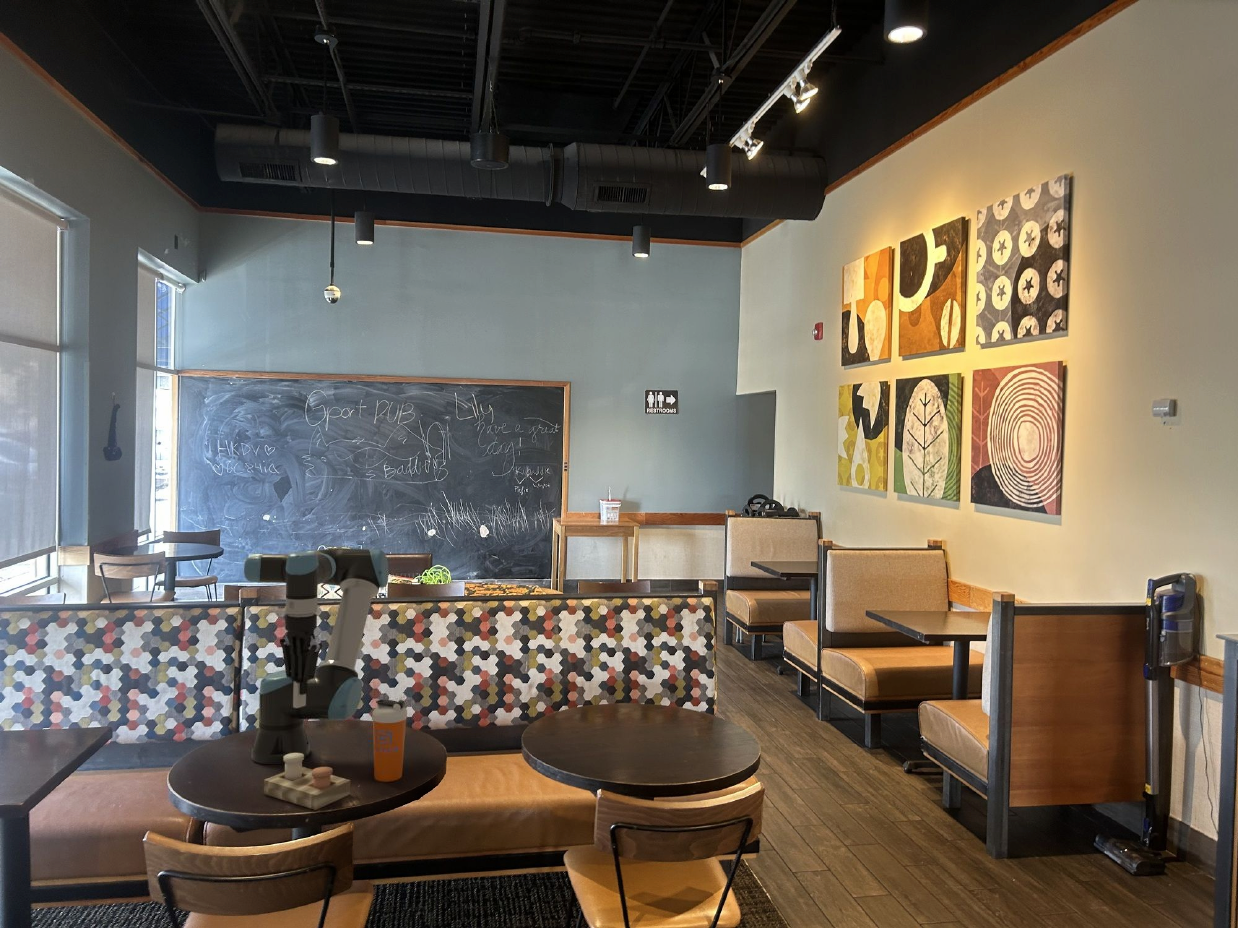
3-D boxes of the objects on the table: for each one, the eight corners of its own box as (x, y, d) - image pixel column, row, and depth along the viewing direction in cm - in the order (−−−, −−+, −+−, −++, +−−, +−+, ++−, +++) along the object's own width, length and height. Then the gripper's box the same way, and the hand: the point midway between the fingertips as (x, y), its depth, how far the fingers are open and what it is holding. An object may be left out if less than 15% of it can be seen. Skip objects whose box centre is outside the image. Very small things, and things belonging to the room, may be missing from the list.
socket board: (263, 793, 211) (264, 779, 210) (299, 779, 220) (299, 765, 220) (315, 809, 202) (316, 795, 202) (350, 793, 212) (350, 780, 212)
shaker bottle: (374, 770, 228) (376, 696, 228) (408, 770, 229) (410, 696, 228) (367, 783, 219) (369, 706, 219) (402, 783, 220) (404, 706, 220)
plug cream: (278, 784, 213) (279, 757, 212) (294, 777, 217) (294, 751, 217) (292, 788, 210) (292, 760, 210) (307, 781, 215) (308, 755, 214)
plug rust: (306, 798, 208) (307, 771, 208) (322, 792, 212) (322, 765, 212) (320, 803, 206) (321, 775, 206) (335, 796, 210) (336, 769, 210)
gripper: (271, 613, 214) (269, 705, 215) (307, 619, 208) (305, 714, 209) (295, 608, 221) (293, 698, 221) (331, 614, 215) (329, 706, 215)
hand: (299, 706), depth 215 cm, fingers closed
